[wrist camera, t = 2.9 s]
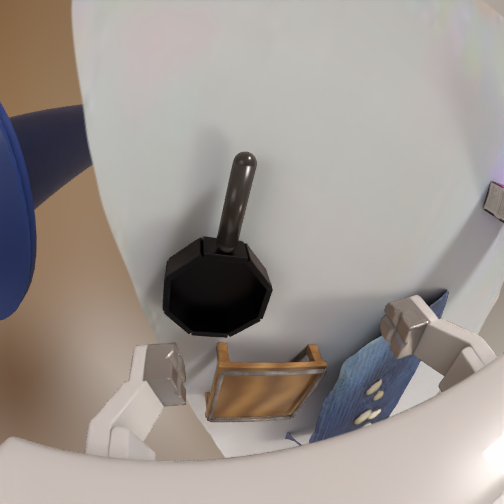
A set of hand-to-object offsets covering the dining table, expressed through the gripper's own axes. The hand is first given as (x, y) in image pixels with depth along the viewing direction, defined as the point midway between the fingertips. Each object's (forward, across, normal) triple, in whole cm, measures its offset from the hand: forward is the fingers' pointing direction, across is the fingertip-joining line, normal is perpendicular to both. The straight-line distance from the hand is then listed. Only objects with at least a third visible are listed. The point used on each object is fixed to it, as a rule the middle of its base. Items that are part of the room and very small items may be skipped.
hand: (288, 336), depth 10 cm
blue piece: (+17, -19, +40) cm, 48 cm away
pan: (+16, +2, +5) cm, 17 cm away
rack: (+17, 0, +27) cm, 32 cm away
